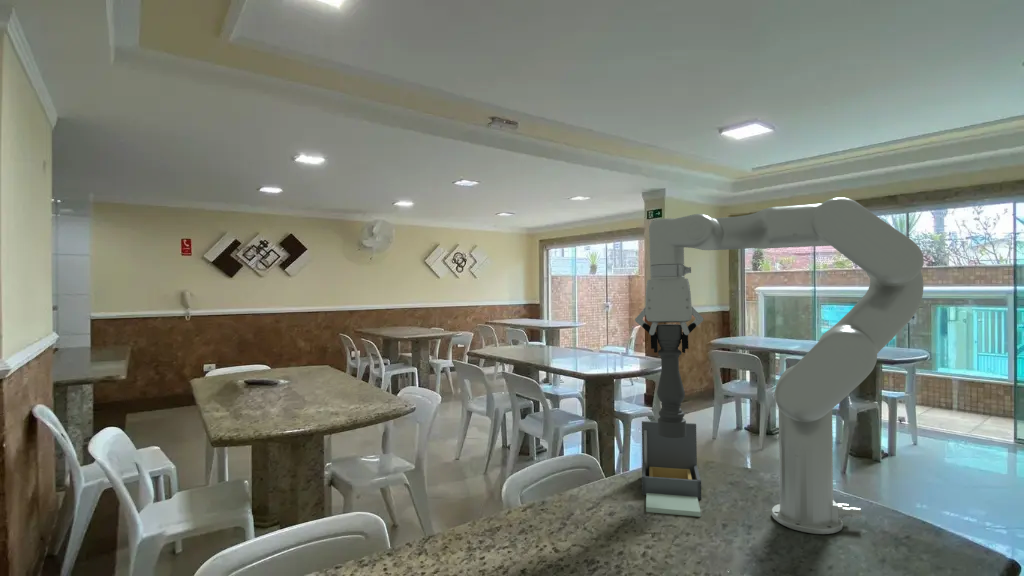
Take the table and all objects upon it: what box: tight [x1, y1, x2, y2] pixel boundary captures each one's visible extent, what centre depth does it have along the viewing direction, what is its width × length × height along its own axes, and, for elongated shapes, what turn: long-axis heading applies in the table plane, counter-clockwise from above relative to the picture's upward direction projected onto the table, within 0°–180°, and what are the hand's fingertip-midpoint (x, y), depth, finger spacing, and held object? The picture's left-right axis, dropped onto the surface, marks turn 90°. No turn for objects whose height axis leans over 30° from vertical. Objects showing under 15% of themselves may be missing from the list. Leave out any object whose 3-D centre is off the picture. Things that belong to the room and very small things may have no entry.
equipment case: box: [641, 420, 702, 500], centre depth 127 cm, size 13×12×14 cm
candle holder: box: [655, 323, 687, 438], centre depth 122 cm, size 6×6×25 cm
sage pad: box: [645, 493, 702, 518], centre depth 116 cm, size 11×8×1 cm
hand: (669, 351), depth 122 cm, fingers closed on candle holder, 5 cm apart
